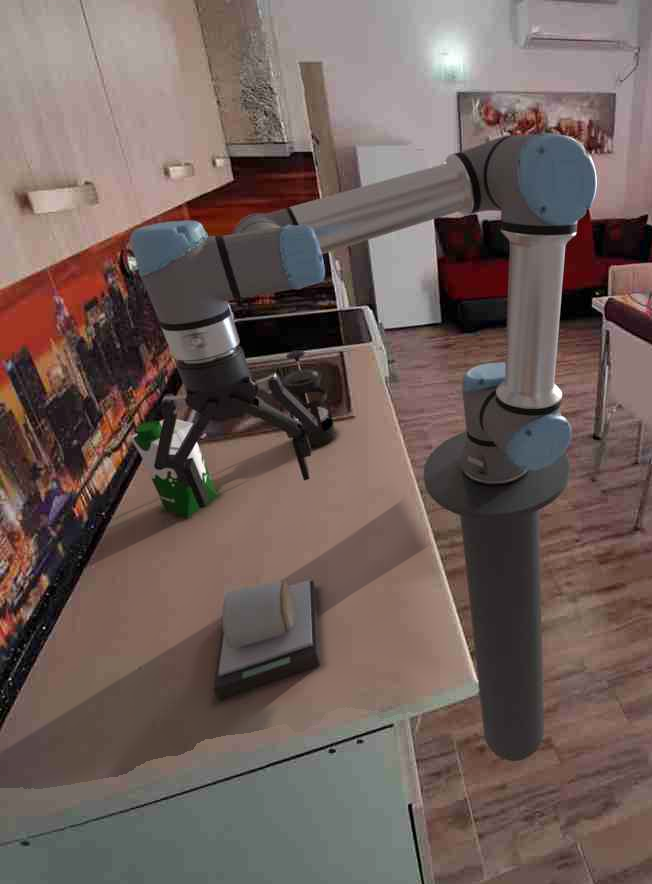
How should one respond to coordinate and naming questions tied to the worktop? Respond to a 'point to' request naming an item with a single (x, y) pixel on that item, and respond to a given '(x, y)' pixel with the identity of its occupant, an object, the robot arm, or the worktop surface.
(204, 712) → the worktop surface
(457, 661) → the worktop surface
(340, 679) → the worktop surface
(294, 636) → the kitchen scale
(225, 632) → the ceramic mug
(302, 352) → the french press
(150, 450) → the milk carton
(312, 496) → the worktop surface
